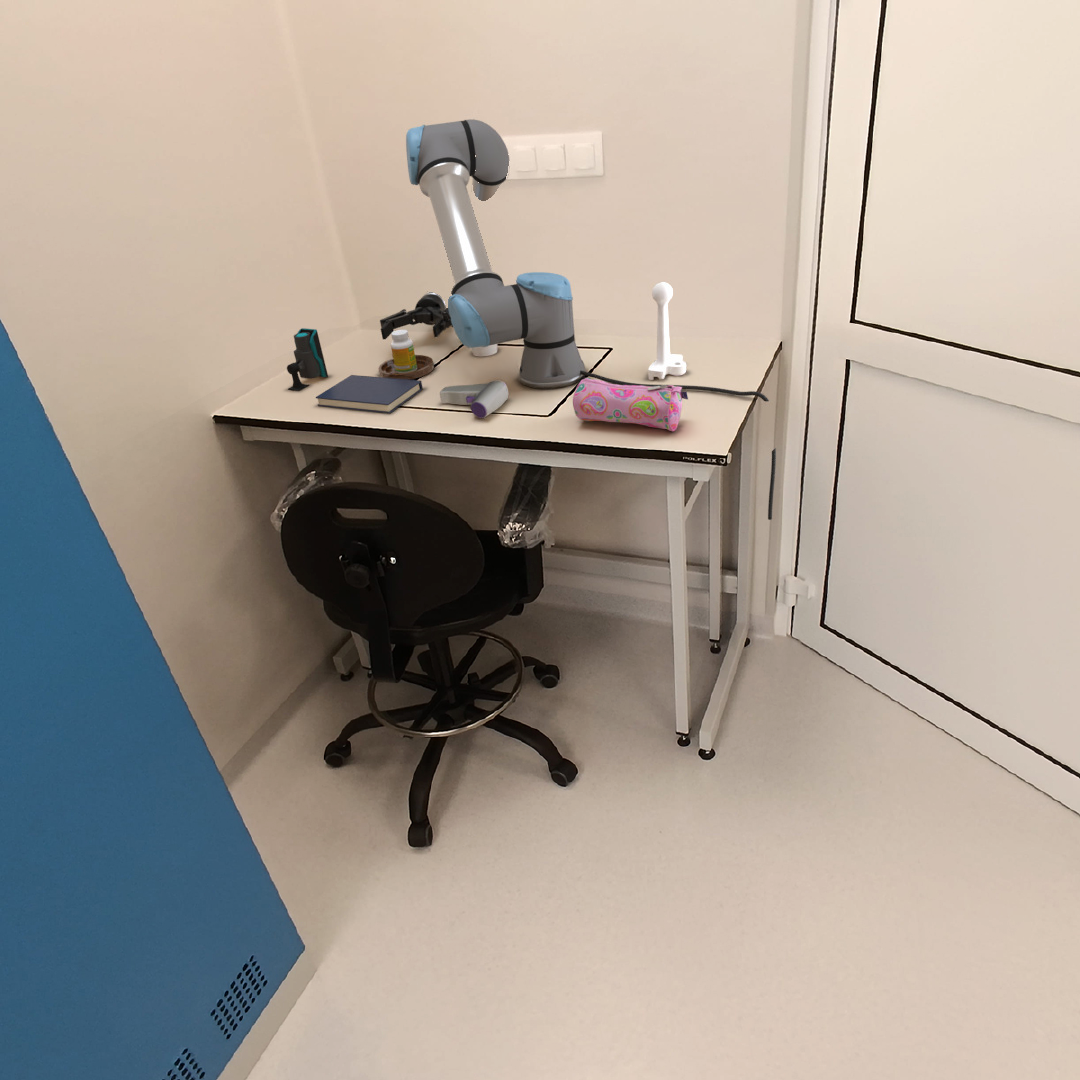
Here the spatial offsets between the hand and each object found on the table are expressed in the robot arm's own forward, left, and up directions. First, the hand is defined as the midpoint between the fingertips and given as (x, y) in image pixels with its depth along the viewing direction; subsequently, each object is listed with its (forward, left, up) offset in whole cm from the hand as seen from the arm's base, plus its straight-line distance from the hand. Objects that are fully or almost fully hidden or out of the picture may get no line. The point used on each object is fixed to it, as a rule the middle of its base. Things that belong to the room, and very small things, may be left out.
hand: (408, 333), depth 200 cm
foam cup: (-12, -14, -8) cm, 20 cm away
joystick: (-62, -22, -8) cm, 66 cm away
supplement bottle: (-3, +5, -8) cm, 10 cm away
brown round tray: (-3, +5, -8) cm, 10 cm away
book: (-8, +21, -8) cm, 24 cm away
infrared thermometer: (-34, +15, -8) cm, 38 cm away
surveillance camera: (+15, +22, -8) cm, 28 cm away
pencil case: (-70, +6, -8) cm, 70 cm away
